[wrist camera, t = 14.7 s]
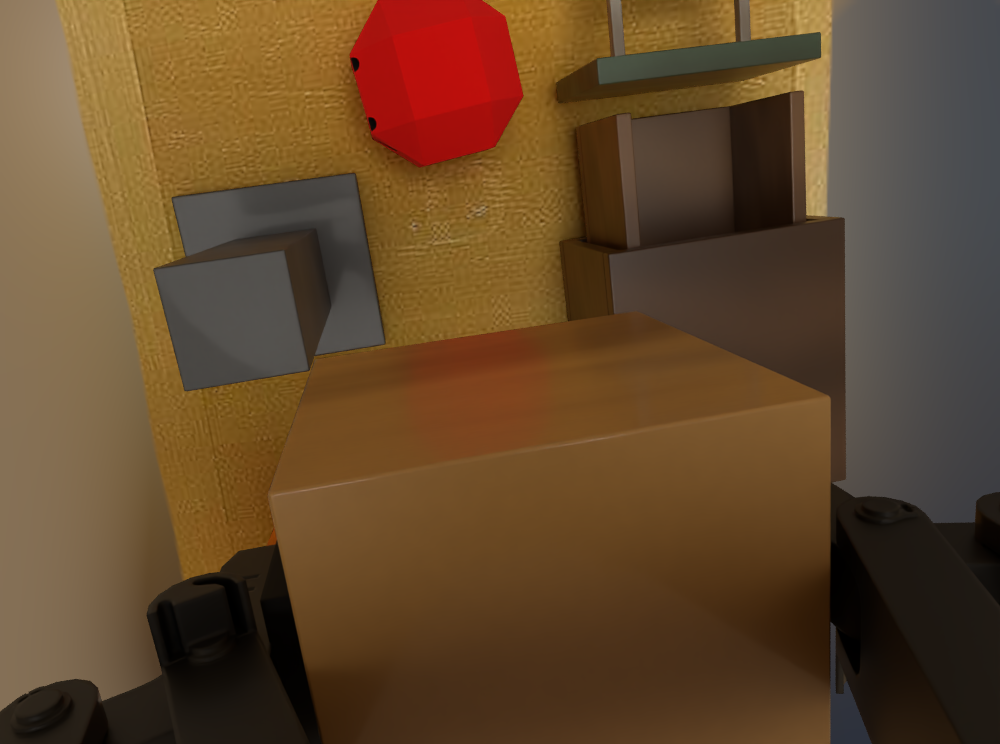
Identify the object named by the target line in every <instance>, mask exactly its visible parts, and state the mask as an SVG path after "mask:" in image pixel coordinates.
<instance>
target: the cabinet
mask: <svg viewBox="0 0 1000 744" xmlns="http://www.w3.org/2000/svg"><path fill="white" fill-rule="evenodd" d="M559 243H560V252H561V261H562V270H563V280H564V289H565V298H566V307H567V317H568V321H574V320H581V319H588V318H594V317H601V316H608V315H614V314H621V313H628V312H635V311H637V312H640V313H642V314H645V315H647V316H649V317H651V318H654V319H656V320H658V321H660V322H663V323H665V324H667V325H670V326H672V327H674V328H676V329H679V330H681V331H683V332H685V333H688V334H690V335H692V336H694V337H697V338H699V339H701V340H704V341H706V342H708V343H710V344H713V345H715V346H717V347H719V348H722V349H724V350H726V351H729V352H731V353H733V354H735V355H738V356H740V357H742V358H744V359H747V360H749V361H751V362H753V363H756V364H758V365H760V366H763V367H765V368H767V369H769V370H772V371H774V372H776V373H778V374H781V375H783V376H785V377H787V378H790V379H792V380H794V381H797V382H799V383H801V384H803V385H806V386H808V387H810V388H812V389H815V390H817V391H819V392H822V393H824V394H826V395H828V396H829V397H830V399H831V482H836V481H841V480H845V479H846V436H845V435H846V434H845V433H846V425H845V424H846V419H845V418H846V417H845V416H846V415H845V413H846V412H845V219H844V218H841V217H824V216H807V215H806V222H799V223H793V224H786V225H780V226H773V227H767V228H760V229H754V230H748V231H741V232H735V233H728V234H722V235H715V236H709V237H702V238H696V239H689V240H683V241H676V242H670V243H663V244H657V245H650V246H644V247H637V248H631V249H624V250H615V249H611V248H607V247H603V246H598V245H594V244H590V243H587V237H582V238H576V239H569V240H562V241H560V242H559Z"/></svg>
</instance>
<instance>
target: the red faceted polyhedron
mask: <svg viewBox="0 0 1000 744" xmlns="http://www.w3.org/2000/svg"><path fill="white" fill-rule="evenodd" d="M350 60H351V66H352V70H353V73H354V76H355V80H356V83H357V86H358V90H359V93H360V97H361V100H362V104H363V107H364V111H365V114H366V118H367V121H368V125H369V128H370V132H371V136H372V139H373V140H375V141H376V142H378V143H380V144H381V145H383V146H385V147H386V148H388V149H390V150H391V151H393V152H395V153H396V154H398V155H400V156H401V157H403V158H404V159H406V160H408V161H409V162H411V163H413V164H414V165H416V166H418V167H419V168H420V167H424V166H427V165H431V164H435V163H439V162H443V161H446V160H450V159H454V158H458V157H462V156H465V155H469V154H473V153H477V152H481V151H484V150H487V149H490V148H493V147H495V146H496V144H497V142H498V140H499V139H500V137H501V135H502V133H503V131H504V130H505V128H506V126H507V124H508V122H509V121H510V119H511V117H512V115H513V114H514V112H515V110H516V108H517V106H518V105H519V103H520V101H521V99H522V97H523V92H522V87H521V83H520V79H519V74H518V70H517V65H516V61H515V57H514V52H513V48H512V44H511V39H510V35H509V30H508V26H507V22H506V17H505V16H504V15H503V14H501V13H500V12H498V11H497V10H495V9H494V8H492V7H491V6H490V5H488V4H487V3H485V2H484V1H482V0H378V1H377V3H376V5H375V7H374V9H373V10H372V12H371V14H370V16H369V18H368V20H367V22H366V24H365V26H364V28H363V30H362V32H361V33H360V35H359V37H358V39H357V41H356V43H355V45H354V47H353V49H352V51H351V53H350Z"/></svg>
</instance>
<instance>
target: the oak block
mask: <svg viewBox="0 0 1000 744" xmlns="http://www.w3.org/2000/svg"><path fill="white" fill-rule="evenodd" d="M268 500H269V505H270V509H271V514H272V519H273V523H274V528H275V532H276V537H277V542H278V546H279V551H280V556H281V560H282V565H283V569H284V574H285V579H286V583H287V588H288V593H289V597H290V602H291V606H292V611H293V616H294V620H295V625H296V630H297V634H298V639H299V643H300V648H301V653H302V657H303V662H304V667H305V671H306V676H307V680H308V685H309V690H310V694H311V699H312V704H313V708H314V713H315V717H316V722H317V727H318V731H319V736H320V741H321V744H830V543H831V399H830V397H829V396H828V395H826V394H824V393H822V392H819V391H817V390H815V389H812V388H810V387H808V386H806V385H803V384H801V383H799V382H797V381H794V380H792V379H790V378H787V377H785V376H783V375H781V374H778V373H776V372H774V371H772V370H769V369H767V368H765V367H763V366H760V365H758V364H756V363H753V362H751V361H749V360H747V359H744V358H742V357H740V356H738V355H735V354H733V353H731V352H729V351H726V350H724V349H722V348H719V347H717V346H715V345H713V344H710V343H708V342H706V341H704V340H701V339H699V338H697V337H694V336H692V335H690V334H688V333H685V332H683V331H681V330H679V329H676V328H674V327H672V326H670V325H667V324H665V323H663V322H660V321H658V320H656V319H654V318H651V317H649V316H647V315H645V314H642V313H640V312H637V311H635V312H628V313H621V314H614V315H608V316H601V317H594V318H588V319H581V320H574V321H568V322H561V323H554V324H548V325H541V326H534V327H528V328H521V329H514V330H508V331H501V332H494V333H487V334H481V335H474V336H467V337H461V338H454V339H447V340H441V341H434V342H427V343H421V344H414V345H407V346H401V347H394V348H387V349H380V350H374V351H367V352H360V353H354V354H347V355H340V356H334V357H327V358H320V359H316V360H315V361H314V364H313V367H312V369H311V372H310V375H309V378H308V381H307V384H306V387H305V389H304V392H303V395H302V398H301V401H300V404H299V406H298V409H297V412H296V415H295V418H294V421H293V424H292V426H291V429H290V432H289V435H288V438H287V441H286V444H285V446H284V449H283V452H282V455H281V458H280V461H279V464H278V466H277V469H276V472H275V475H274V478H273V481H272V483H271V486H270V489H269V492H268Z"/></svg>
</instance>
